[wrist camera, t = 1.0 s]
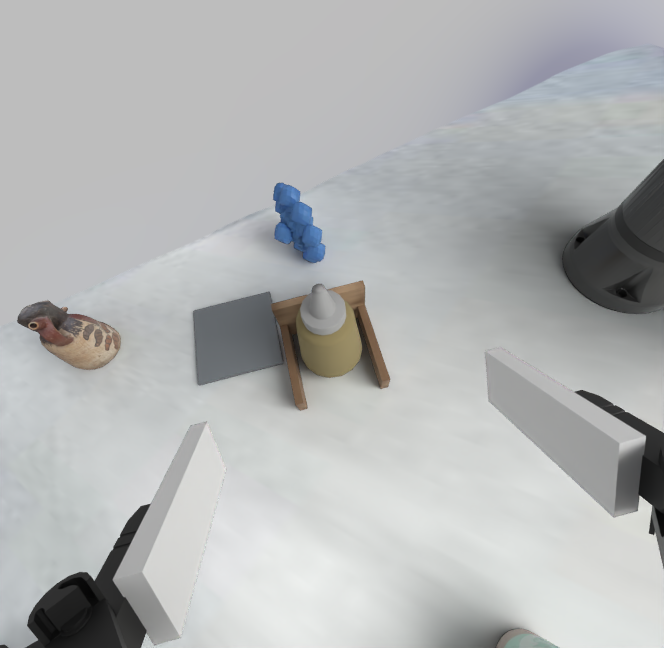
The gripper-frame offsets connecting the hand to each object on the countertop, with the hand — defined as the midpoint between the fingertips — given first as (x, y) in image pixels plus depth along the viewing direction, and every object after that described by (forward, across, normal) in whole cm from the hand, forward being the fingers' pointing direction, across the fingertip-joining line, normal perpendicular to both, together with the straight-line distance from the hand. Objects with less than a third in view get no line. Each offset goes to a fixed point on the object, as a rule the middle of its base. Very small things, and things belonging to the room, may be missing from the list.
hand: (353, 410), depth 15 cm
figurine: (+37, -34, -3) cm, 50 cm away
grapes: (+43, -1, +3) cm, 43 cm away
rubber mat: (+34, -13, -5) cm, 37 cm away
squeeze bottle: (+29, 0, -10) cm, 31 cm away
